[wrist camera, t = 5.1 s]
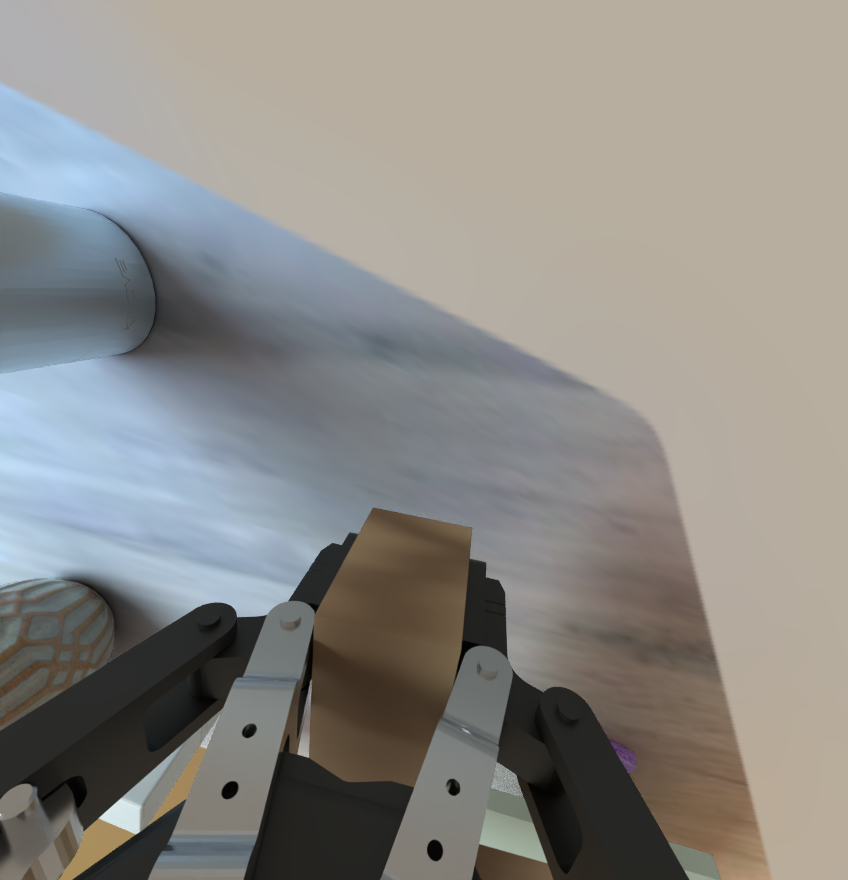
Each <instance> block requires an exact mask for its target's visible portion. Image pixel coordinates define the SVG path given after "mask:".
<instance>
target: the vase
mask: <svg viewBox="0 0 848 880" xmlns="http://www.w3.org/2000/svg"><path fill="white" fill-rule="evenodd" d="M113 645H114V617H113V613H112V611H111V609H110V607H109V605H108V604H107V602H106V601H105V600H104V599H103V598H102V597H101V596H100V595H99V594H98V593H97V592H96V591H94V590H93V589H91V588H90V587H88V586H86V585H84V584H81V583H78V582H74V581H66V580H57V579H30V580H22V581H16V582H12V583H8V584H4V585H0V731H1V730H2V729H4V728H6V727H7V726H9V725H10V724H12V723H14V722H15V721H17V720H18V719H20V718H22V717H23V716H25V715H26V714H28V713H30V712H31V711H33V710H34V709H36V708H38V707H39V706H41V705H42V704H44V703H46V702H47V701H49V700H50V699H52V698H54V697H55V696H57V695H58V694H60V693H62V692H63V691H65V690H66V689H68V688H70V687H71V686H73V685H74V684H76V683H78V682H79V681H81V680H82V679H84V678H86V677H87V676H89V675H90V674H92V673H94V672H95V671H97V670H98V669H100V668H102V667H103V666H105V665H106V664H108V662H109V660H110V657H111V654H112V650H113Z"/></svg>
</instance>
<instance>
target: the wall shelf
mask: <svg viewBox="0 0 848 880" xmlns="http://www.w3.org/2000/svg"><path fill="white" fill-rule="evenodd" d="M668 843H669V845H670V847H671V848H672V850H673V852H674V854H675V855H676V857H677V859H678V860H679V862H680V864H681V866H682V867H683V869H684V871H685V873H686V874H687V876H688V878H689V880H721V878H720V875H719V872H718V870H717V867H716V864H715V862H714V859H713V856H712V854H708V853H705V852H702V851H699V850H695V849H692V848H689V847H685V846H682V845H679V844H675V843H672V842H669V841H668ZM479 844H481V845H485V846H488V847H492V848H495V849H499V850H502V851H506V852H509V853H513V854H516V855H520V856H523V857H527V858H531V859H534V860H538V861H541V862H545V863H547V860H546V858H545V855H544V852H543V849H542V846H541V844H540V841H539V838H538V835H537V832H536V830H535V827H534V824H533V821H532V818H531V816H530V813H529V810H528V807H527V804H526V802H525V799H524V798H522V797H519V796H516V795H512V794H509V793H506V792H502V791H499V790H496V789H492V788H491V790H490V795H489V800H488V804H487V809H486V814H485V819H484V823H483V828H482V833H481V838H480V842H479Z"/></svg>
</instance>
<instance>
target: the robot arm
mask: <svg viewBox="0 0 848 880" xmlns="http://www.w3.org/2000/svg"><path fill="white" fill-rule="evenodd" d="M154 315H155V293H154V287H153V282H152V278H151V276H150V273H149V270H148V267H147V265H146V263H145V261H144V259H143V257H142V255H141V254H140V252H139V250H138V248H137V247H136V246H135V244H134V243H133V242H132V240H131V239H130V238H129V237H128V235H127V234H126V233H125V232H124V231H122V230H121V229H120V228H119V227H118V226H117V225H116V224H115V223H113V222H112V221H110V220H109V219H107V218H106V217H104V216H103V215H101V214H98V213H96V212H93V211H91V210H88V209H82V208H77V207H72V206H67V205H61V204H56V203H51V202H46V201H40V200H35V199H30V198H25V197H21V196H16V195H11V194H6V193H1V192H0V374H3V373H9V372H15V371H21V370H27V369H33V368H39V367H45V366H51V365H57V364H63V363H70V362H76V361H82V360H88V359H94V358H100V357H106V356H111V355H117V354H122V353H125V352H129V351H132V350H133V349H135V348H136V347H137V346H139V345H140V344H141V343H142V342H143V341H144V340H145V338H146V337H147V336H148V334H149V332H150V329H151V327H152V325H153V320H154ZM357 536H358V534H356V533H351V532H350V533H349V534H348V536H347V537H346V539H345V541H344V543H343V544H342V545H339V544H334V543H332V544H330V545H329V546H327V547H326V548H324V549H323V550H321V551H320V553H319V555H318V556H317V558H316V559H315V561H314V563H313V564H312V565H311V567H310V568H309V571H307V573H306V575H305V576H304V578H303V579H302V581H301V582H300V584H299V585H298V587H297V588H296V590H295V591H294V593H293V595H292V596H291V598H290V599H289V601H288V602H284V603H281V604H279V605H277V606H275V607H274V608H273V609H272V610H271V611H270V612H269V613H268V615H265V616H259V617H237V614H236V611H235V609H234V608H233V607H232V606H230V605H228V604H225V603H209V604H205V605H202V606H200V607H198V608H196V609H194V610H193V611H191V612H189V613H188V614H186V615H185V616H183V617H181V618H180V619H178V620H177V621H175V622H173V623H172V624H170V625H169V626H167V627H165V628H164V629H162V630H161V631H159V632H157V633H156V634H154V635H153V636H151V637H149V638H148V639H146V640H145V641H143V642H141V643H140V644H138V645H137V646H135V647H133V648H132V649H130V650H129V651H127V652H126V653H124V654H122V655H121V656H119V657H118V658H116V659H114V660H113V661H111V662H110V663H108V664H106V665H105V666H103V667H102V668H100V669H98V670H97V671H95V672H94V673H92V674H90V675H89V676H87V677H86V678H84V679H82V680H81V681H79V682H78V683H76V684H74V685H73V686H71V687H70V688H68V689H66V690H65V691H63V692H62V693H60V694H58V695H57V696H55V697H54V698H52V699H50V700H49V701H47V702H46V703H44V704H42V705H41V706H39V707H38V708H36V709H34V710H33V711H31V712H30V713H28V714H26V715H25V716H23V717H22V718H20V719H18V720H17V721H15V722H14V723H12V724H10V725H9V726H7V727H6V728H4V729H2V730H1V731H0V880H59V879H60V877H61V876H62V874H63V871H64V870H65V869H66V868H67V866H68V865H69V864H70V862H71V861H72V859H73V858H74V856H75V854H76V852H77V850H78V848H79V846H80V843H81V841H82V836H83V832H84V831H85V830H86V829H87V828H88V827H89V826H90V825H91V824H92V823H94V822H95V821H96V820H97V819H98V818H99V817H100V816H102V815H103V814H104V813H105V812H106V811H107V810H108V809H110V808H111V807H112V806H113V805H114V804H115V803H116V802H117V801H119V800H120V799H121V798H122V797H123V796H124V795H125V794H126V793H128V792H129V791H130V790H131V789H132V788H133V787H134V786H136V785H137V784H138V783H139V782H140V781H141V780H142V779H143V778H145V777H146V776H147V775H148V774H149V773H150V772H151V771H152V770H154V769H155V768H156V767H157V766H158V765H159V764H160V763H162V762H163V761H164V760H165V759H166V758H167V757H168V756H169V755H171V754H172V753H173V752H174V751H175V750H176V749H177V748H178V747H180V746H181V745H182V744H183V743H184V742H185V741H186V740H187V739H189V738H190V737H191V736H192V735H193V734H194V733H195V732H197V731H198V730H199V729H200V728H201V727H202V726H203V725H204V724H206V723H207V722H208V721H209V720H210V719H211V718H212V717H213V716H215V715H216V714H217V713H218V712H219V711H220V710H221V709H223V710H222V712H221V715H220V717H219V720H218V722H217V725H216V727H215V730H214V732H213V735H212V737H211V740H210V742H209V745H208V747H207V750H206V752H205V755H204V757H203V760H202V762H201V765H200V767H199V770H198V772H197V774H196V777H195V779H194V782H193V784H192V787H191V789H190V792H189V794H188V797H187V799H186V800H184V801H183V802H181V803H180V804H178V805H177V806H175V807H174V808H173V809H171V810H170V811H168V812H167V813H166V814H164V815H163V816H161V817H160V818H159V819H157V820H156V821H154V822H153V823H152V824H150V825H149V826H147V827H146V828H144V829H143V830H142V831H140V832H139V833H137V834H136V835H135V836H133V837H132V838H130V839H129V840H128V841H126V842H125V843H123V844H122V845H121V846H119V847H118V848H116V849H115V850H113V851H112V852H111V853H109V854H108V855H107V856H105V857H104V858H102V859H101V860H99V861H98V862H97V863H95V864H94V865H92V866H91V867H90V868H88V869H87V870H85V871H84V872H83V873H81V874H80V875H78V876H77V877H76V878H74V879H73V880H481V878H480V875H479V873H478V871H477V869H476V866H475V861H476V857H477V852H478V847H479V842H480V838H481V833H482V828H483V823H484V819H485V814H486V809H487V804H488V800H489V795H490V790H491V785H492V781H493V776H494V771H495V766H496V762H498V763H500V764H501V765H503V766H504V767H506V768H507V769H509V770H510V771H512V772H513V773H515V774H516V775H517V779H518V782H519V785H520V788H521V791H522V793H523V796H524V799H525V802H526V804H527V807H528V810H529V813H530V816H531V818H532V821H533V824H534V827H535V830H536V832H537V835H538V838H539V841H540V844H541V846H542V849H543V852H544V855H545V858H546V860H547V863H548V866H549V869H550V872H551V874H552V877H553V880H689V878H688V876H687V874H686V873H685V871H684V869H683V867H682V866H681V864H680V862H679V860H678V859H677V857H676V855H675V854H674V852H673V850H672V848H671V847H670V845H669V843H668V841H667V840H666V838H665V836H664V835H663V833H662V831H661V829H660V828H659V826H658V824H657V822H656V821H655V819H654V817H653V815H652V814H651V812H650V810H649V809H648V807H647V805H646V803H645V802H644V800H643V798H642V796H641V795H640V793H639V791H638V789H637V788H636V786H635V784H634V783H633V781H632V779H631V777H630V776H629V774H628V772H627V770H626V769H625V767H624V765H623V764H622V762H621V760H620V758H619V757H618V755H617V753H616V751H615V750H614V748H613V746H612V744H611V743H610V741H609V739H608V738H607V736H606V734H605V732H604V731H603V729H602V727H601V725H600V724H599V722H598V720H597V718H596V717H595V715H594V713H593V712H592V710H591V708H590V707H589V705H588V704H587V703H586V702H585V700H584V699H582V698H581V697H580V696H579V695H578V694H576V693H575V692H573V691H571V690H569V689H566V688H563V687H551V688H549V689H547V690H546V691H544V692H542V691H540V690H538V689H536V688H535V687H533V686H531V685H529V684H528V683H526V682H525V681H523V680H522V679H521V678H520V677H519V676H518V675H517V674H516V673H515V672H514V671H513V669H512V667H511V665H510V662H509V661H508V657H507V635H506V617H505V616H506V607H505V591H504V590H503V588H502V586H501V584H500V582H499V580H494V579H490V578H486V562H482V561H478V560H473V559H469V569H468V580H467V591H466V602H465V613H464V624H463V635H462V646H461V653H460V657H459V662H458V666H457V670H456V675H455V679H454V684H453V688H452V692H451V694H450V697H449V700H448V703H447V706H446V708H445V711H444V714H443V716H442V717H441V718H440V720H439V722H438V725H437V727H436V730H435V733H434V735H433V738H432V741H431V744H430V746H429V749H428V752H427V754H426V757H425V760H424V763H423V765H422V768H421V771H420V773H419V776H418V779H417V782H416V784H415V787H411V786H407V785H404V784H400V783H397V782H393V781H371V782H346V781H344V780H342V779H340V778H339V777H337V776H336V775H334V774H333V773H331V772H330V771H328V770H327V769H325V768H324V767H322V766H321V765H319V764H318V763H316V762H315V761H313V760H312V759H310V758H307V757H304V756H300V755H297V752H298V747H299V742H300V737H301V732H302V728H303V723H304V718H305V714H306V709H307V704H308V699H309V695H310V690H311V685H312V665H313V637H314V615H315V613H316V611H317V610H318V608H319V606H320V604H321V602H322V600H323V599H324V597H325V595H326V593H327V591H328V589H329V588H330V586H331V584H332V582H333V580H334V578H335V577H336V575H337V573H338V571H339V569H340V567H341V566H342V564H343V562H344V560H345V558H346V556H347V555H348V553H349V551H350V549H351V547H352V545H353V544H354V542H355V540H356V538H357Z"/></svg>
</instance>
